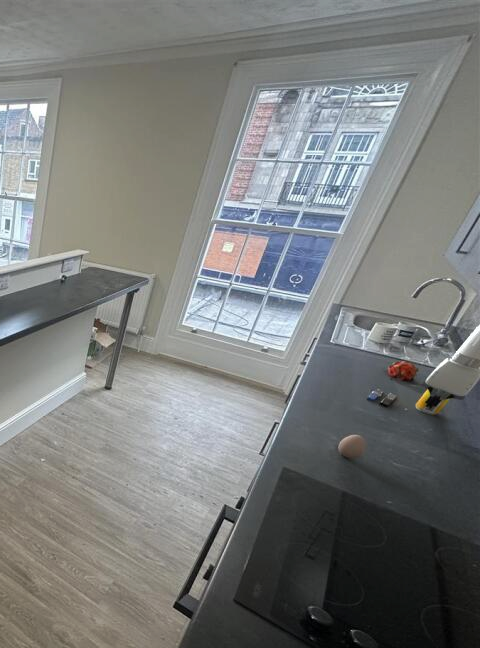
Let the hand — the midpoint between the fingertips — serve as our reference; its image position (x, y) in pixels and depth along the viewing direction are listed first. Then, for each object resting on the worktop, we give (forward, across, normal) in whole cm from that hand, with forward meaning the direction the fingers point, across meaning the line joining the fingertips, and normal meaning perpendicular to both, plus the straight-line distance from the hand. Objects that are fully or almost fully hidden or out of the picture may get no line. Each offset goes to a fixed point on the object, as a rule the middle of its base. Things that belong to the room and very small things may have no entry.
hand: (428, 406), depth 140 cm
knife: (+4, +10, -1) cm, 10 cm away
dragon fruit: (+4, +12, -29) cm, 32 cm away
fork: (+4, +13, -1) cm, 14 cm away
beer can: (+3, 0, -5) cm, 6 cm away
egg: (+4, +8, +60) cm, 60 cm away
